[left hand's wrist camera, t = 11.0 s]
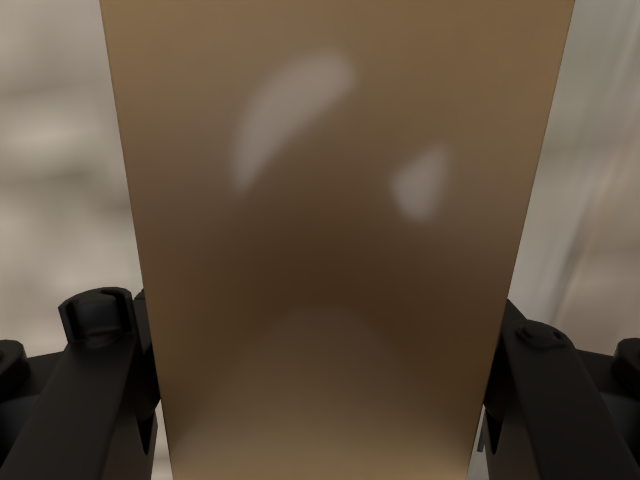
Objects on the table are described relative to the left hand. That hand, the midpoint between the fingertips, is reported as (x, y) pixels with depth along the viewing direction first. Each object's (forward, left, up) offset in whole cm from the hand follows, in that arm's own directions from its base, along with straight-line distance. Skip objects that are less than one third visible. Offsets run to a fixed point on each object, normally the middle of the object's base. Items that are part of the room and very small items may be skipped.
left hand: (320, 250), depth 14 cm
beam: (+6, +18, 0) cm, 19 cm away
